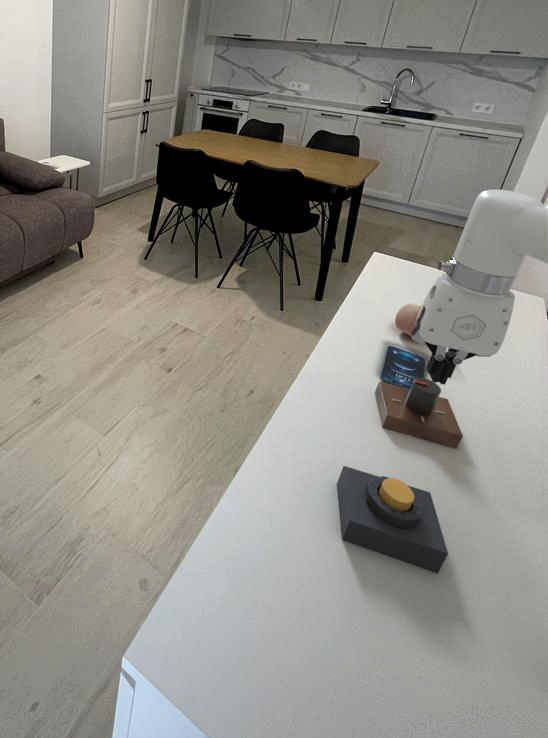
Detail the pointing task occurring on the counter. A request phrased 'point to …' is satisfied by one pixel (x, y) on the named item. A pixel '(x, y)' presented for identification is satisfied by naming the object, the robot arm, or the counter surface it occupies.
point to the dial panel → (417, 417)
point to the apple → (407, 318)
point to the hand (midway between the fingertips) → (436, 377)
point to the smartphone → (402, 367)
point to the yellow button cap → (396, 494)
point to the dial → (423, 396)
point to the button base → (389, 522)
